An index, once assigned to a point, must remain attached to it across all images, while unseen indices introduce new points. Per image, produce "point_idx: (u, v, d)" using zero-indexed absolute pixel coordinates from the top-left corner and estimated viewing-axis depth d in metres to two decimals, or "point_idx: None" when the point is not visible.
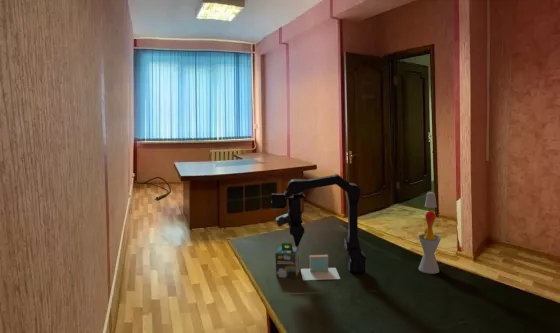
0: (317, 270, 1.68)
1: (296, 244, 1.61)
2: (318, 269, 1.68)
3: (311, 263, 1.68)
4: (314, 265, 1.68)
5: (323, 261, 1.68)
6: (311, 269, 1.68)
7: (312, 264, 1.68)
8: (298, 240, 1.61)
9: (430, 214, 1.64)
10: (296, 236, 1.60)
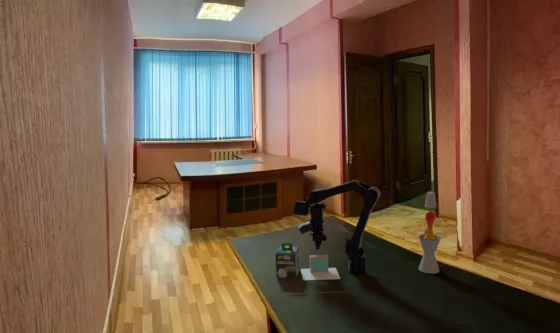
0: (317, 270, 1.68)
1: (317, 248, 1.74)
2: (318, 269, 1.68)
3: (311, 263, 1.68)
4: (314, 265, 1.68)
5: (323, 261, 1.68)
6: (311, 269, 1.68)
7: (312, 264, 1.68)
8: (319, 244, 1.73)
9: (430, 214, 1.64)
10: (317, 241, 1.73)
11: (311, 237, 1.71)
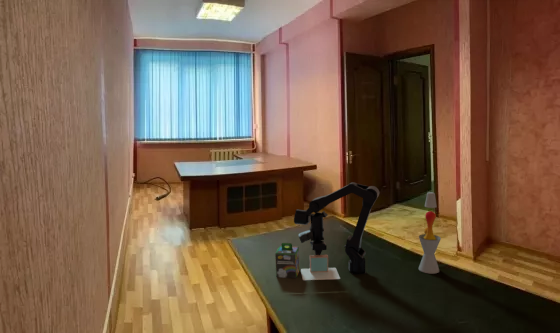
0: (317, 270, 1.68)
1: None
2: (318, 269, 1.68)
3: (311, 263, 1.68)
4: (314, 265, 1.68)
5: (323, 261, 1.68)
6: (311, 269, 1.68)
7: (312, 264, 1.68)
8: (319, 253, 1.73)
9: (430, 214, 1.64)
10: (317, 249, 1.73)
11: (311, 246, 1.71)
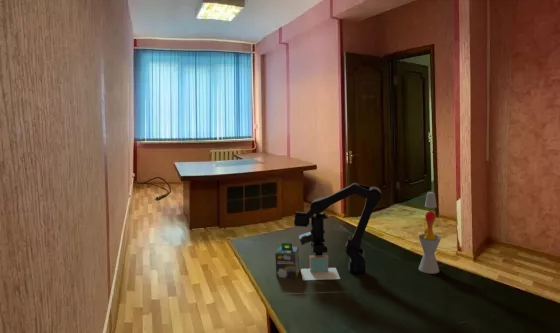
0: (317, 270, 1.68)
1: None
2: (318, 269, 1.68)
3: (311, 263, 1.67)
4: (314, 265, 1.68)
5: (323, 261, 1.67)
6: (311, 269, 1.68)
7: (312, 264, 1.68)
8: None
9: (430, 214, 1.64)
10: None
11: None
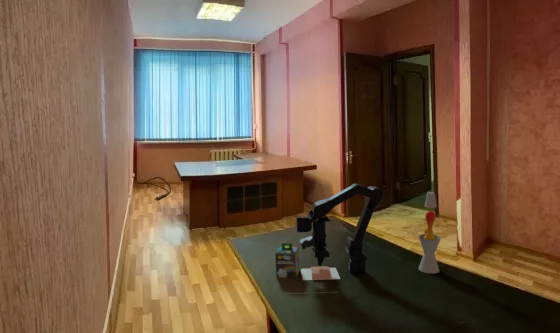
0: None
1: (319, 263, 1.65)
2: None
3: None
4: None
5: None
6: None
7: None
8: (321, 260, 1.65)
9: (430, 214, 1.64)
10: None
11: None
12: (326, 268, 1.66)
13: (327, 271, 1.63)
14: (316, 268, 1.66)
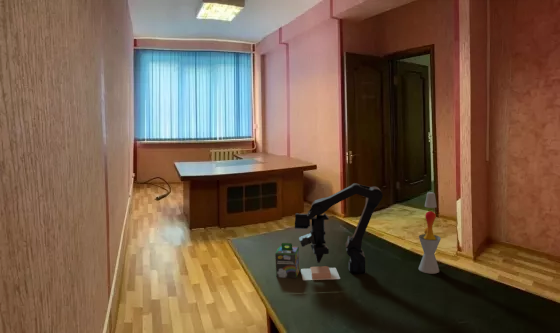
0: None
1: (318, 260, 1.69)
2: None
3: None
4: None
5: None
6: None
7: None
8: (320, 257, 1.68)
9: (430, 214, 1.64)
10: (318, 253, 1.68)
11: None
12: (326, 268, 1.66)
13: (327, 271, 1.63)
14: (316, 268, 1.66)
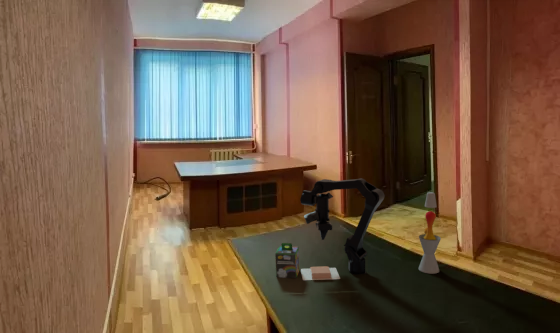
0: None
1: (322, 237, 1.76)
2: None
3: None
4: None
5: None
6: None
7: None
8: (324, 234, 1.75)
9: (430, 214, 1.64)
10: (322, 230, 1.74)
11: (317, 227, 1.73)
12: (326, 268, 1.66)
13: (327, 271, 1.63)
14: (316, 268, 1.66)
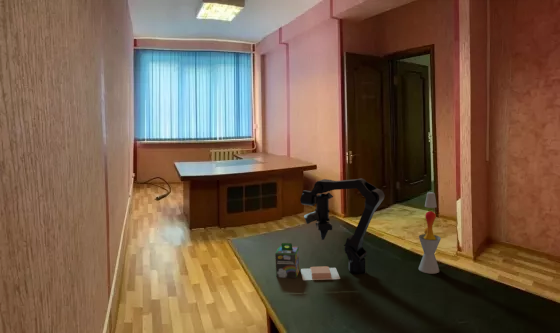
0: None
1: (322, 237, 1.76)
2: None
3: None
4: None
5: None
6: None
7: None
8: (324, 234, 1.75)
9: (430, 214, 1.64)
10: (322, 230, 1.74)
11: (317, 227, 1.73)
12: (326, 268, 1.66)
13: (327, 271, 1.63)
14: (316, 268, 1.66)
